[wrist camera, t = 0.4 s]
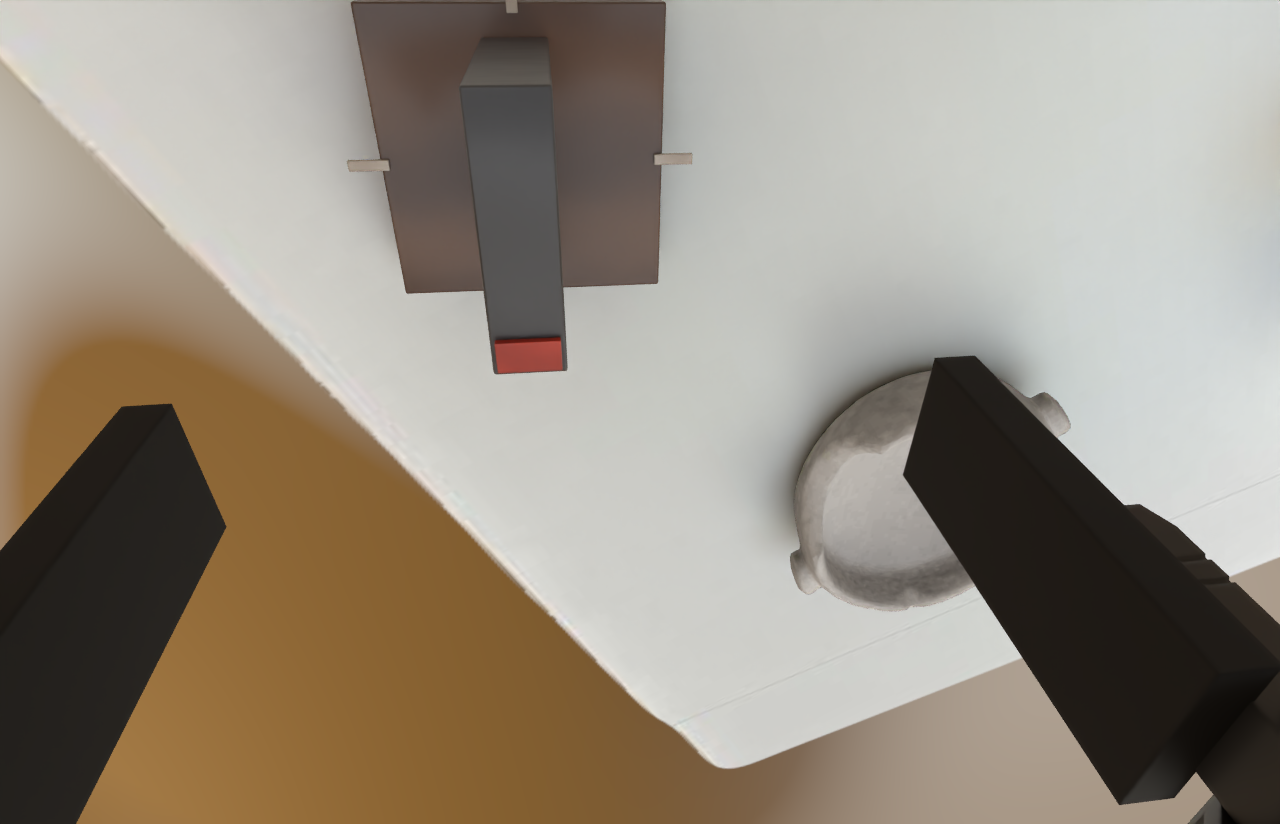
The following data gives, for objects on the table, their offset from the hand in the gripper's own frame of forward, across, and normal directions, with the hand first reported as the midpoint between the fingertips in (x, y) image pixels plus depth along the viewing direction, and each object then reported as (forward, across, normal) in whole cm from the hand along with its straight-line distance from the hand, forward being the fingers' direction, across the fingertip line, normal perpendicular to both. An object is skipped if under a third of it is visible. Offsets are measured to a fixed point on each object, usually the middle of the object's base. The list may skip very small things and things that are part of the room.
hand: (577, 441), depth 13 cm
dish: (+19, +19, -18) cm, 32 cm away
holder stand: (+19, -1, 0) cm, 19 cm away
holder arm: (+16, -1, 0) cm, 16 cm away
